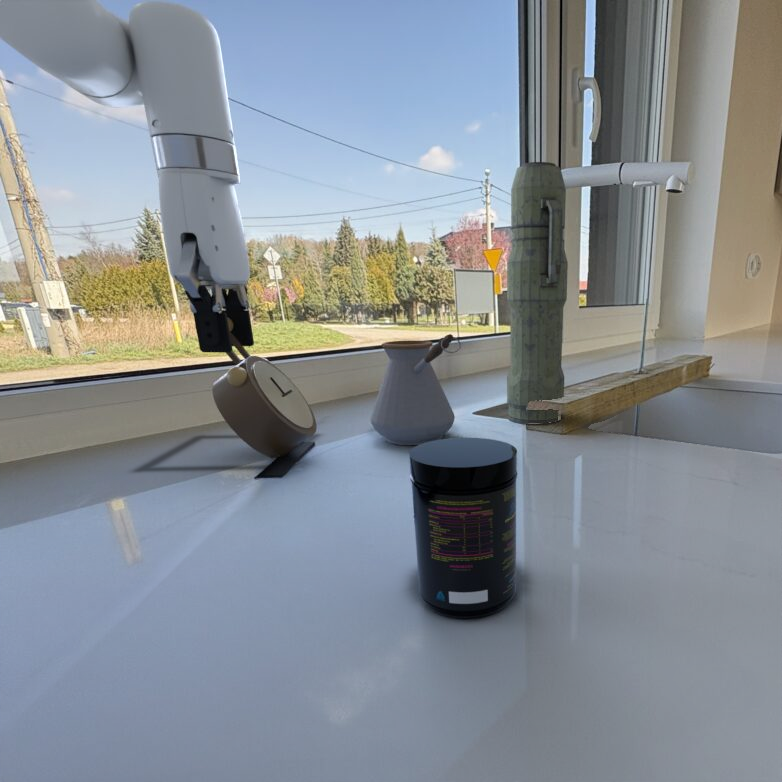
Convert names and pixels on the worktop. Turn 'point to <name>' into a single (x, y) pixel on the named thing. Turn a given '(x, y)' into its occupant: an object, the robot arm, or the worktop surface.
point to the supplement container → (465, 524)
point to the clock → (262, 404)
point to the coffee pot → (412, 394)
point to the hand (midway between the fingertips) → (228, 347)
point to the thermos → (536, 291)
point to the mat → (285, 461)
